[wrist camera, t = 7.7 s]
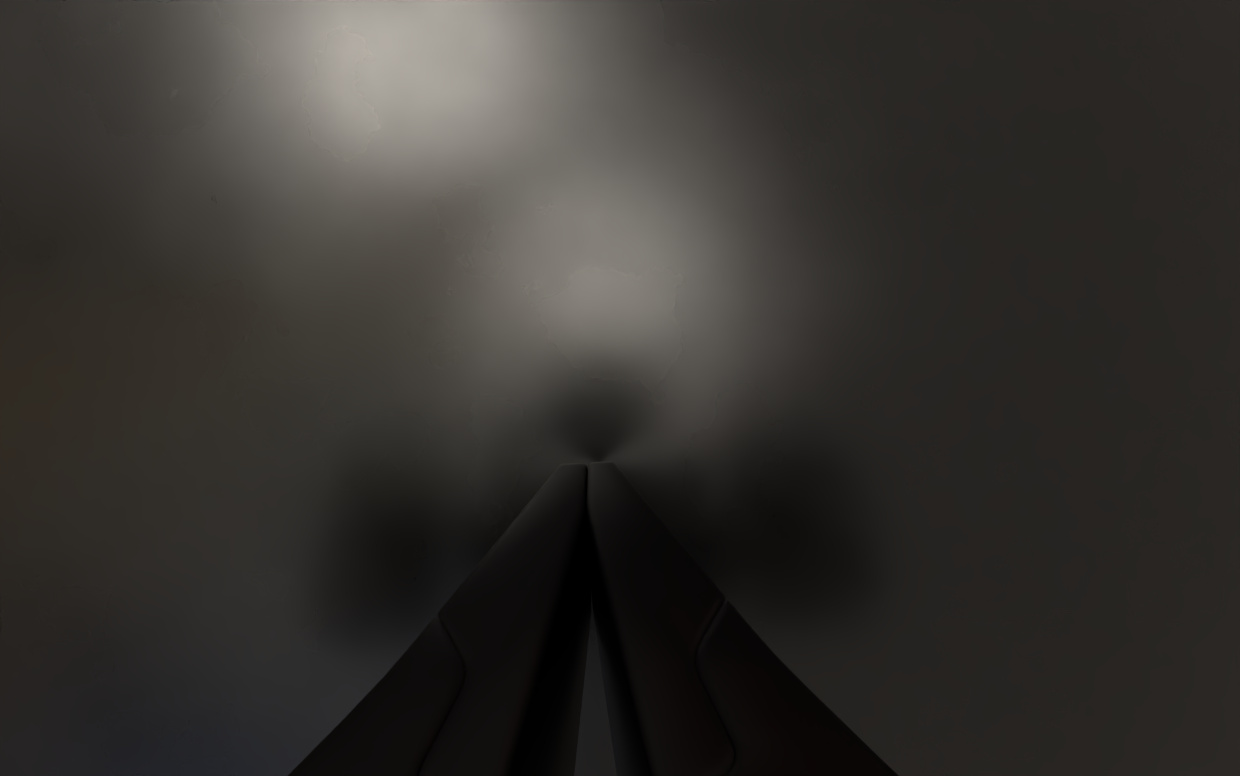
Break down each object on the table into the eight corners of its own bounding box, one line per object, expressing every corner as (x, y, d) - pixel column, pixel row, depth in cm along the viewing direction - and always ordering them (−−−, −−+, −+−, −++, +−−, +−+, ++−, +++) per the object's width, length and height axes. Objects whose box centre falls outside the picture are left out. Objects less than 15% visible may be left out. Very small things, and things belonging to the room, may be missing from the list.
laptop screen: (-184, -37, 10) (-249, -74, 10) (1260, -54, 12) (1310, -88, 11) (-159, 1043, 10) (-225, 1099, 9) (1321, 914, 11) (1376, 954, 10)
